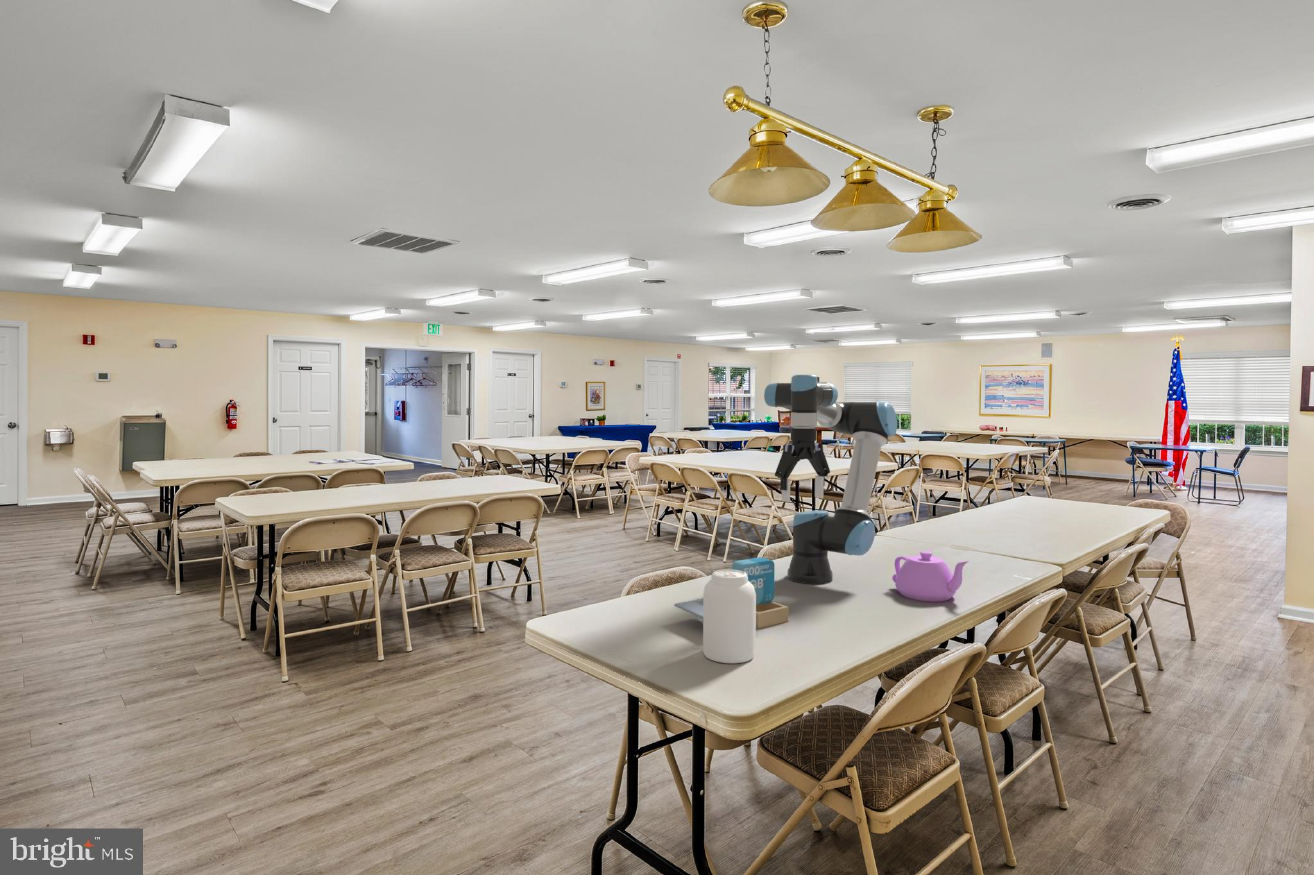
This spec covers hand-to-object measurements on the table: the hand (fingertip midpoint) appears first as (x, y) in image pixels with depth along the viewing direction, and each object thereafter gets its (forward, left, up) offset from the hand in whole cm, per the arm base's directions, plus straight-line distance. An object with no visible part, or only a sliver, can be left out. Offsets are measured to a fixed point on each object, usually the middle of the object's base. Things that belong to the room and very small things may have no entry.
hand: (802, 499), depth 200 cm
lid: (+35, 0, -27) cm, 44 cm away
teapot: (-41, +14, -32) cm, 54 cm away
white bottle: (+43, +19, -32) cm, 57 cm away
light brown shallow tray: (+19, 0, -32) cm, 37 cm away
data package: (+19, 0, -28) cm, 34 cm away
